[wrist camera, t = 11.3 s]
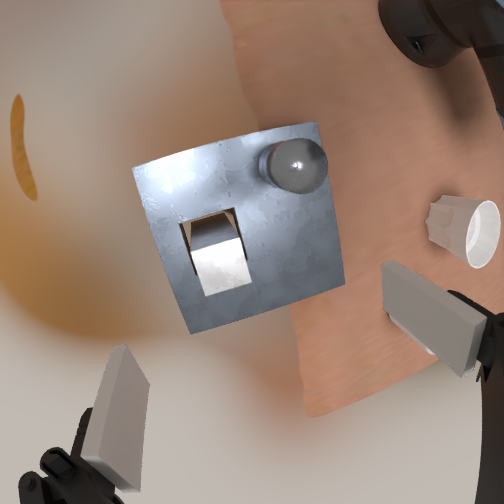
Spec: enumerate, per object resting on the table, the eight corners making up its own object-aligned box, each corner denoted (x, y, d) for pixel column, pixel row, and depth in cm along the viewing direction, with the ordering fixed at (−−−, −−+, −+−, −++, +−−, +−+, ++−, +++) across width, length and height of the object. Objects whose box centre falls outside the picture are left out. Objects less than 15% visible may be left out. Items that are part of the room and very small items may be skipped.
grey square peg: (191, 222, 34) (190, 252, 23) (224, 212, 34) (239, 237, 23) (200, 253, 35) (205, 296, 24) (232, 244, 36) (251, 282, 25)
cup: (432, 180, 39) (479, 189, 30) (464, 203, 42) (505, 214, 32) (413, 239, 41) (457, 259, 32) (447, 255, 44) (486, 274, 35)
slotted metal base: (138, 167, 31) (117, 169, 22) (303, 124, 33) (341, 113, 24) (190, 318, 38) (191, 365, 28) (331, 272, 40) (369, 304, 30)
